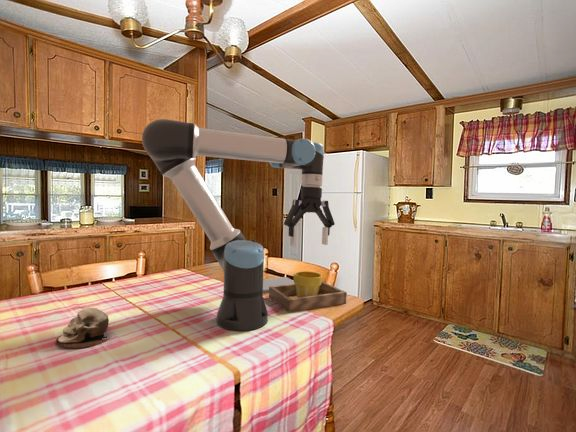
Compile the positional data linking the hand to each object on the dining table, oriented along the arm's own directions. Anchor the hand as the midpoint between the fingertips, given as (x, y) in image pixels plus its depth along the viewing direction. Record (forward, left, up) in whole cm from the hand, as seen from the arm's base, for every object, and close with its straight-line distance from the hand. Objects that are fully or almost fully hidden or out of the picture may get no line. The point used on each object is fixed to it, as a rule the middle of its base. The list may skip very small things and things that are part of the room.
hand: (309, 245), depth 113 cm
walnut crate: (0, 0, -20) cm, 20 cm away
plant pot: (0, 0, -21) cm, 21 cm away
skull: (-68, -5, -21) cm, 72 cm away
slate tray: (-3, +21, -20) cm, 29 cm away
